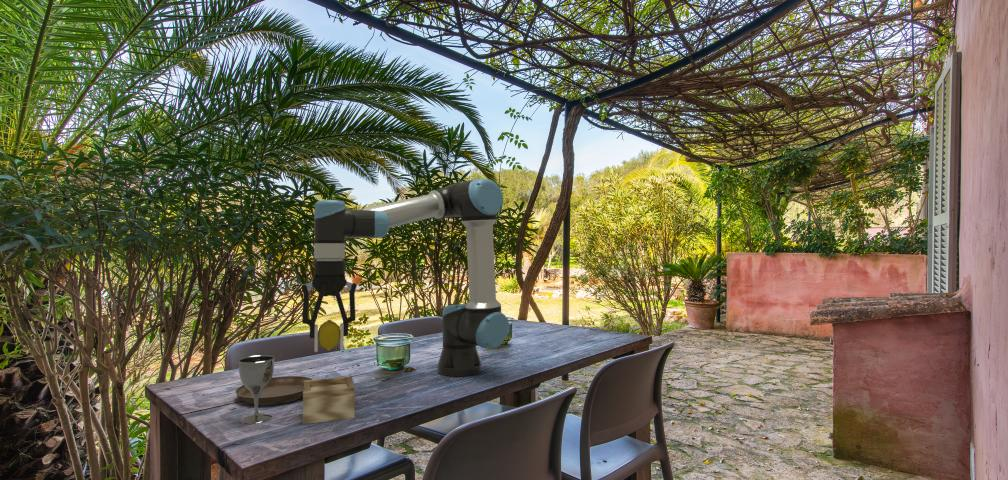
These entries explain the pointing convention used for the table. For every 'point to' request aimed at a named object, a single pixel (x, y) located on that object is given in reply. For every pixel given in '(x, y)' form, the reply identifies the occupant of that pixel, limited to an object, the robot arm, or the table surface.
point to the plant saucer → (276, 391)
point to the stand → (328, 399)
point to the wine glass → (256, 381)
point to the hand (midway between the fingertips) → (329, 349)
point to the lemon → (328, 334)
